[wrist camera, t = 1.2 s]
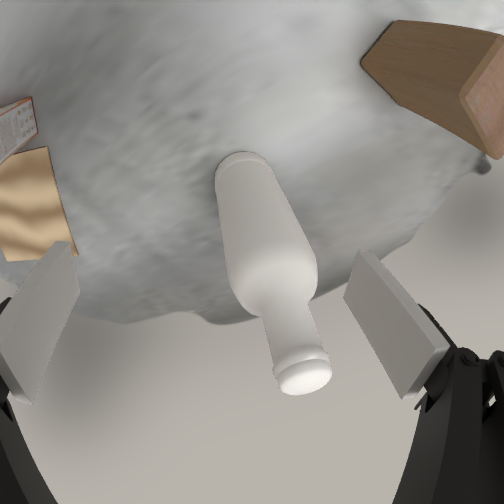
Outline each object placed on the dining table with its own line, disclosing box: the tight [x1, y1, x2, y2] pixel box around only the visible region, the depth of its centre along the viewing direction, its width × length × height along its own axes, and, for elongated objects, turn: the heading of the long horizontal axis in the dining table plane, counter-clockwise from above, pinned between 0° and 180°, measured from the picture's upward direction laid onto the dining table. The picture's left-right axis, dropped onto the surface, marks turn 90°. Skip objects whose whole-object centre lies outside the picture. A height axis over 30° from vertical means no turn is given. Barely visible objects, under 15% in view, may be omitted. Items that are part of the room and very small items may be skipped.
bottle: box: [215, 151, 332, 395], centre depth 30 cm, size 8×8×30 cm
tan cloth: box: [0, 146, 78, 261], centre depth 37 cm, size 19×16×1 cm
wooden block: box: [361, 20, 504, 160], centre depth 25 cm, size 10×10×20 cm
